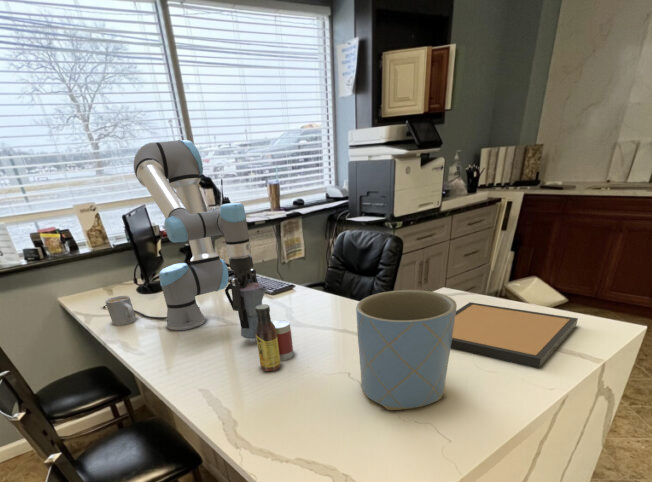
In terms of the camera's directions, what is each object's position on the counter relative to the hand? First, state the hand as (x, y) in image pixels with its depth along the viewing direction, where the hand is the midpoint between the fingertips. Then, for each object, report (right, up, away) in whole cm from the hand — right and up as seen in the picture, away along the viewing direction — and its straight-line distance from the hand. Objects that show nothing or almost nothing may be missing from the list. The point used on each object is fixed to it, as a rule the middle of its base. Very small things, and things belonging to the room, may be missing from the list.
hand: (251, 323), depth 143 cm
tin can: (+12, -13, -10) cm, 20 cm away
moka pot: (0, -4, +2) cm, 4 cm away
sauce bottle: (+8, -17, -17) cm, 25 cm away
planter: (+44, -25, -36) cm, 62 cm away
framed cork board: (+82, -6, -11) cm, 83 cm away
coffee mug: (-60, +7, +36) cm, 70 cm away
